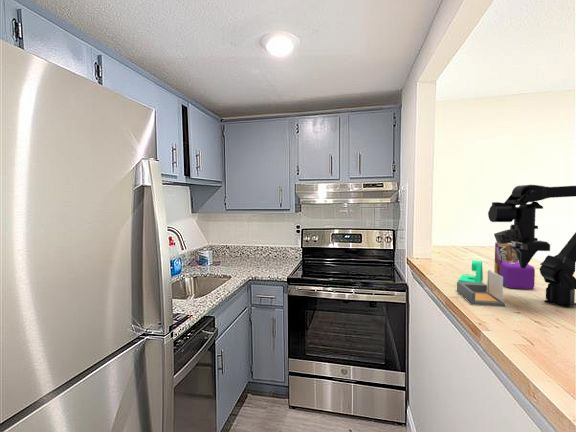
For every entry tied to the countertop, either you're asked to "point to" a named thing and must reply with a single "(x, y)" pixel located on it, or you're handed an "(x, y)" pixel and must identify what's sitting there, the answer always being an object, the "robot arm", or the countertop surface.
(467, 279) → the camera mount
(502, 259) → the candy box
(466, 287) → the camera case
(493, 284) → the door
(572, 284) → the robot arm
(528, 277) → the toy camera
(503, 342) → the countertop surface
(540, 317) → the countertop surface
